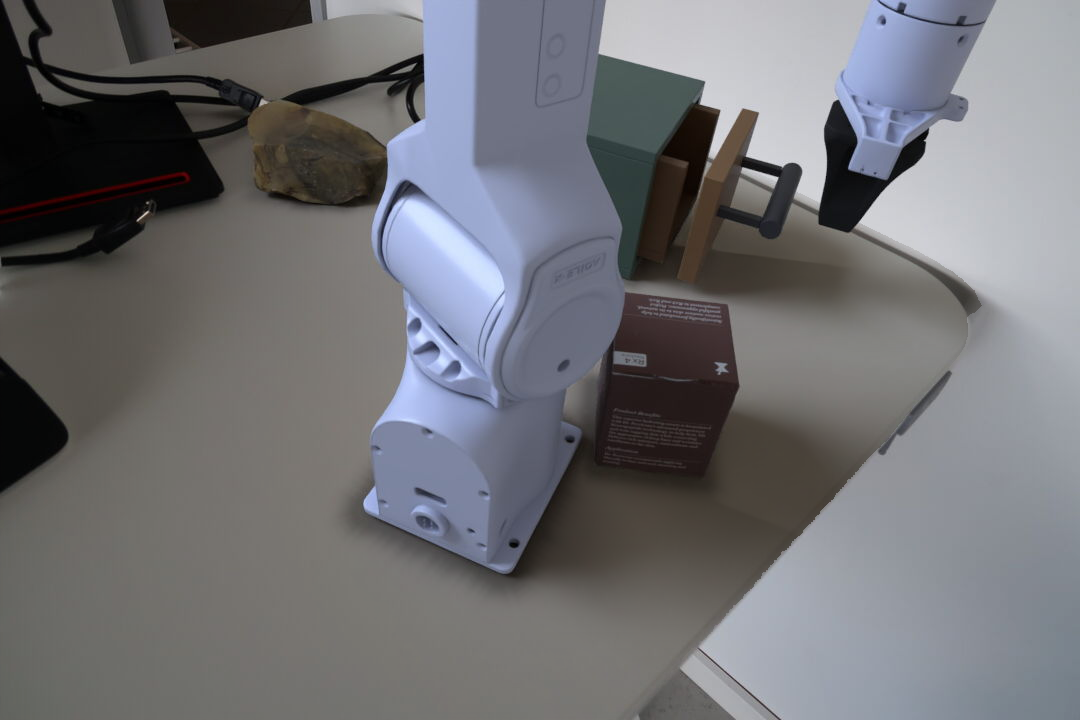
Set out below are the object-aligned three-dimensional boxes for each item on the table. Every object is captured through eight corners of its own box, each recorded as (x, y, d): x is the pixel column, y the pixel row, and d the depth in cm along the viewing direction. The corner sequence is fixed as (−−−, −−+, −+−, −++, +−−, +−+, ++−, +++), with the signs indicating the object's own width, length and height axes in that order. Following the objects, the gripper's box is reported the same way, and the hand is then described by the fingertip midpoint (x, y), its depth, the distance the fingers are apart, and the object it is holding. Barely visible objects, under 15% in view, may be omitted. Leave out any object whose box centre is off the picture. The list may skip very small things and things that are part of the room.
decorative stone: (401, 151, 60) (399, 110, 57) (365, 214, 53) (361, 170, 51) (277, 132, 60) (269, 91, 58) (225, 192, 54) (214, 148, 51)
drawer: (783, 224, 55) (819, 127, 49) (754, 304, 48) (792, 202, 42) (577, 163, 59) (590, 67, 53) (523, 229, 52) (531, 126, 46)
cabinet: (676, 199, 58) (705, 80, 51) (629, 280, 50) (656, 153, 43) (520, 152, 61) (528, 35, 54) (453, 222, 53) (452, 95, 47)
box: (698, 398, 43) (732, 302, 38) (705, 482, 39) (743, 387, 33) (595, 384, 43) (614, 287, 38) (589, 467, 39) (610, 370, 33)
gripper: (1015, 74, 32) (888, 307, 42) (1008, -18, 42) (905, 188, 52) (853, 37, 34) (766, 269, 44) (882, -44, 44) (805, 161, 53)
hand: (834, 223), depth 48 cm, fingers closed
